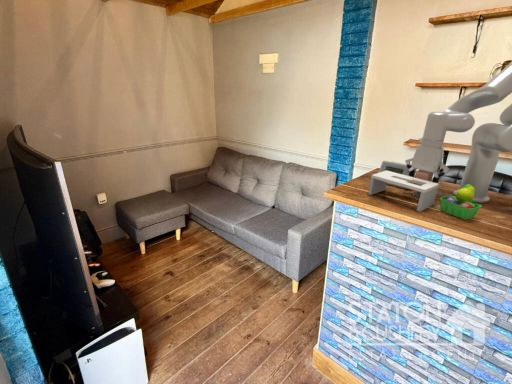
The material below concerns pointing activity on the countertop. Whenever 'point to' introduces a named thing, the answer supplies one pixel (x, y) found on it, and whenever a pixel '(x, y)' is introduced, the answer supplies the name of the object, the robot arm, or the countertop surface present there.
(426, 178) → the peg
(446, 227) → the countertop surface
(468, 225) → the countertop surface
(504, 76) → the robot arm
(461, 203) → the fruit basket
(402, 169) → the digital clock
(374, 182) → the keyhole board
